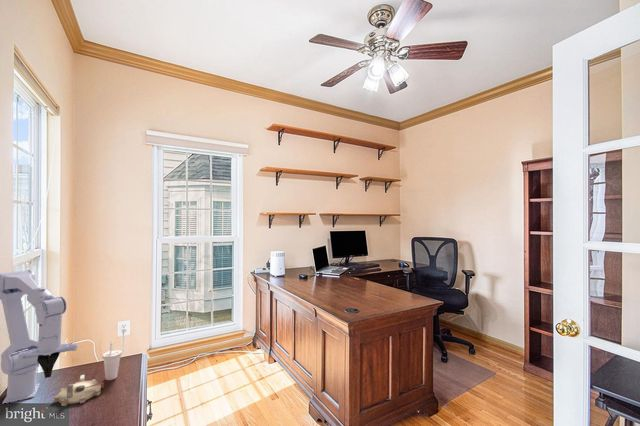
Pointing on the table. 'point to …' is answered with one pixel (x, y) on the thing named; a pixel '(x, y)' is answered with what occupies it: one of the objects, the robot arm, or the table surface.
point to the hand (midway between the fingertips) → (48, 376)
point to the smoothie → (111, 363)
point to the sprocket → (79, 392)
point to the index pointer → (82, 378)
